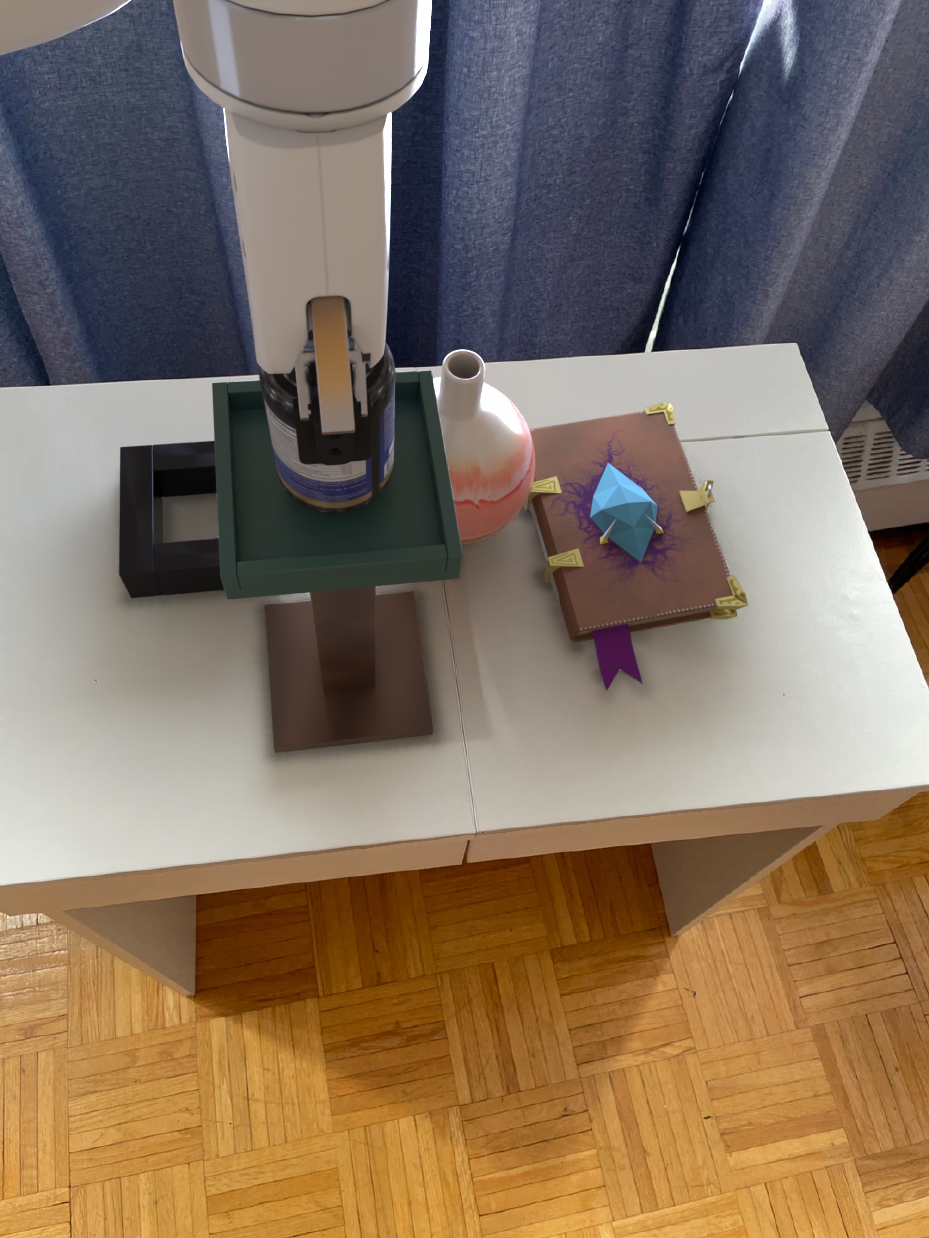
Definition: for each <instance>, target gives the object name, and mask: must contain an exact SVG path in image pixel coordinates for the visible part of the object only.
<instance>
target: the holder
mask: <svg viewBox="0 0 929 1238" xmlns="http://www.w3.org/2000/svg"><path fill="white" fill-rule="evenodd" d="M213 494H214V495H215V494H217V489H216V465H215V442H214V440H203V441H188V442H175V443H174V442H173V443H160V444H159V443H157V444H143V445H129V446H120V447H119V514H118V515H119V516H118V517H119V520H118V521H119V522H118V523H119V525H118V529H119V531H118V576H119V578H120V580H121V582H122V583H123V586H124V588H125V589H126V591H127V593H128V595H129V597H130V599H141V598H152V597H162V596H174V595H185V594H186V595H187V594H196V593H197V594H198V593H209V592H219V591H225V590H224V587H223V584H222V581H221V577H220V559H219V537H213V538H202V539H201V538H200V539H190V540H189V539H188V540H177V541H176V540H175V541H165V542H164V498H173V497H174V498H175V497H186V496H187V497H188V496H199V495H213Z"/></svg>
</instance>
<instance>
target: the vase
mask: <svg viewBox="0 0 929 1238" xmlns="http://www.w3.org/2000/svg"><path fill="white" fill-rule="evenodd" d="M485 375H486V365H485V362H484V360H483V358H482V357H481V356H480V355H479V354H477V353H476V352H474V351H473V350H472V351H471V350H469V349H457V350H453V351H451V352H449V353H448V354H447V355H446V356H445V357H444V359H443V361H442V364H441V371H440V376H436V377H433V380H434V385H435V391H436V397H437V403H438V409H439V415H440V421H441V427H442V433H443V439H444V445H445V451H446V457H447V463H448V468H449V474H450V480H451V486H452V492H453V498H454V504H455V510H456V516H457V522H458V528H459V534H460V540H461V546H462V545H469V544H473V543H477V542H480V541H484V540H485V539H487V538H489V537H492V536H495V535H496V534H497V533H498V532H500V531H503V530H504V529H505V528H506V527H507V526H508V525H509V524H510V523H511V522H512V521H513V520H514V519H516V517H517V516H518V515H519V513H520V512H521V510H522V509H523V507H525V506H524V504H525V502H526V500H527V498H528V496H529V494H530V491H531V488H532V484H533V481H534V474H535V450H534V444H533V440H532V436H531V433H530V430H529V429H530V427H529V426H528V423H527V421H526V419H525V417H524V416H523V414H522V413H521V412H520V410H519V409H518V407H517V406H516V404H514V403H513V401H511V400H510V398H509V397H508V396H506V395H505V394H504V393H502V392H501V391H500V390H498V389H497V388H496V387H493V386H492V385H490V384H488V383H486V382H485V378H486V377H485Z"/></svg>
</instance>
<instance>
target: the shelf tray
mask: <svg viewBox="0 0 929 1238" xmlns="http://www.w3.org/2000/svg"><path fill="white" fill-rule="evenodd" d="M433 378H434V374H433V371H432V369H425V370H423V369H421V370H404V371H403V370H402V371H395V419H394V465H393V473H392V476H391V478H390V481H389V483H388V485H387V486H386V488H385V489H384V491H383V492H382V493H381V494H380V495H379V496H378V497H376V498H375V499H374V500H373V501H371V502H369V503H368V504H367V505H366V506H363V507H361V508H359V509H357V510H354V511H351V512H346V513H334V514H330V513H324V512H318V511H315V510H312V509H309V508H308V507H305V506H303V505H301V504H300V503H299V502H297V501H296V500H295V499H294V498H292V497H291V496H290V495H289V494H288V493H287V492H286V491H285V489H284V488H283V486H282V484H281V482H280V480H279V478H278V475H277V471H276V464H275V459H274V454H273V448H272V443H271V437H270V432H269V427H268V421H267V416H266V411H265V405H264V400H263V395H262V389H261V386H260V380H259V379H253V380H236V381H215V382H212V383H211V392H212V394H211V395H212V414H213V438H214V440H213V441H214V442H215V465H216V489H217V493H216V507H217V508H216V509H217V533H218V535H217V536H218V538H219V559H220V577H221V581H222V584H223V587H224V590H223V591H224V593H225V596H226V599H227V600H228V601H229V600H241V599H253V598H264V597H265V598H266V597H274V596H283V595H284V596H286V595H297V594H307V593H309V594H310V592H320V591H331V590H342V589H353V588H364V587H375V586H376V587H384V586H385V587H386V586H395V585H406V584H417V583H418V584H419V583H428V582H429V583H430V582H439V581H451V580H459V579H460V577H461V573H462V572H461V571H462V565H463V558H464V553H463V546H462V545H461V540H460V534H459V528H458V522H457V516H456V510H455V504H454V498H453V492H452V486H451V480H450V474H449V468H448V463H447V457H446V451H445V445H444V439H443V433H442V427H441V421H440V415H439V409H438V403H437V397H436V391H435V385H434V380H433Z"/></svg>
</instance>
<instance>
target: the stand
mask: <svg viewBox="0 0 929 1238" xmlns="http://www.w3.org/2000/svg"><path fill="white" fill-rule="evenodd" d="M376 587H377V586H375V587H364V588H353V589H342V590H331V591H320V592H309V596H310V600H301V601H289V602H281V603H280V602H279V603H271V604H269V603H268V604H264V615H265V618H264V619H265V630H266V631H265V633H266V648H267V663H268V678H269V694H270V695H269V696H270V709H271V721H272V722H271V723H272V724H271V726H272V740H273V751H274V752H275V753H276V754H277V753H287V752H295V751H303V750H313V749H321V748H331V747H340V746H347V745H355V744H366V743H374V742H382V741H391V740H400V739H409V738H417V737H426V736H427V737H428V736H433V735H434V722H433V716H432V715H433V714H432V709H431V701H430V700H431V699H430V694H429V687H428V679H427V673H426V667H425V666H426V665H425V658H424V652H423V645H422V644H423V643H422V637H421V630H420V623H419V615H418V610H417V602H416V601H417V600H416V594H415V590H411V591H399V592H389V593H388V592H387V593H378V594H377V592H376Z"/></svg>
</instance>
